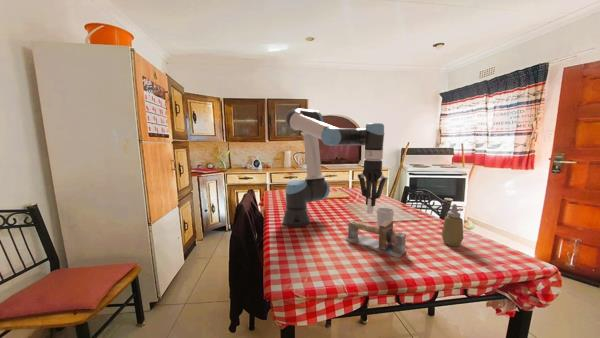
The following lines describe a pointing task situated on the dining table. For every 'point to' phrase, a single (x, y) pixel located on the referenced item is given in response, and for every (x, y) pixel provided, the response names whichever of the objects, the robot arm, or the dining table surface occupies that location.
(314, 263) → the dining table surface
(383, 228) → the collar
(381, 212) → the cup
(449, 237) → the squeeze bottle
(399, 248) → the rail
